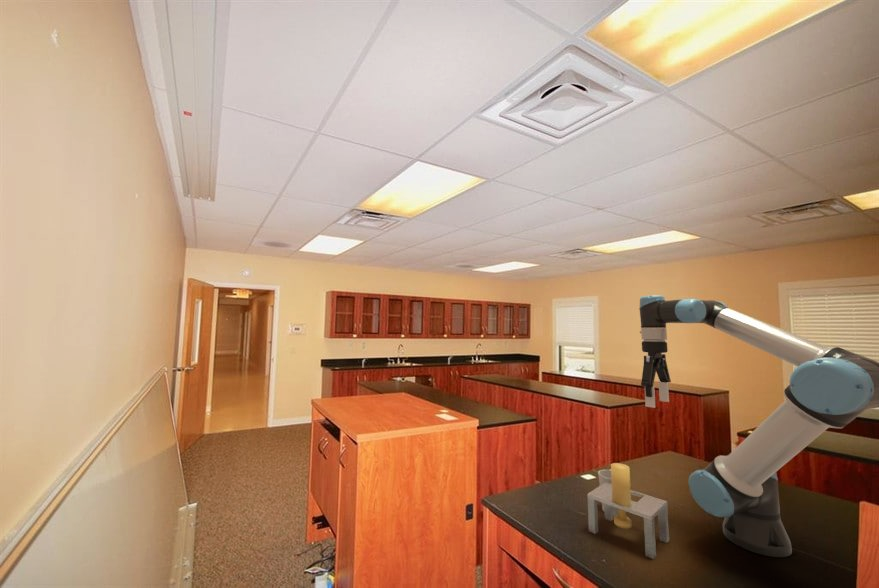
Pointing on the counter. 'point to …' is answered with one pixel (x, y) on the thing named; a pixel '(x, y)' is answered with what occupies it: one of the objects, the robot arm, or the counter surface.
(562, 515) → the counter surface
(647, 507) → the shelf
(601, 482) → the cup
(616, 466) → the yellow tall stemmed piece
